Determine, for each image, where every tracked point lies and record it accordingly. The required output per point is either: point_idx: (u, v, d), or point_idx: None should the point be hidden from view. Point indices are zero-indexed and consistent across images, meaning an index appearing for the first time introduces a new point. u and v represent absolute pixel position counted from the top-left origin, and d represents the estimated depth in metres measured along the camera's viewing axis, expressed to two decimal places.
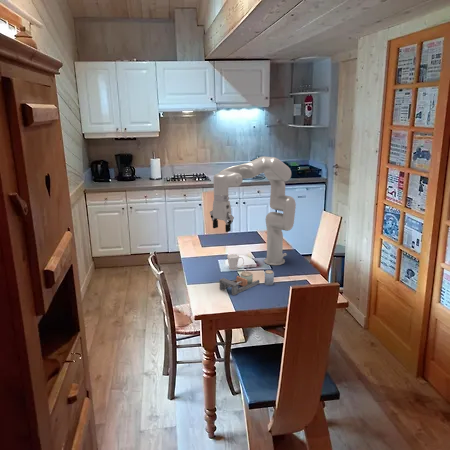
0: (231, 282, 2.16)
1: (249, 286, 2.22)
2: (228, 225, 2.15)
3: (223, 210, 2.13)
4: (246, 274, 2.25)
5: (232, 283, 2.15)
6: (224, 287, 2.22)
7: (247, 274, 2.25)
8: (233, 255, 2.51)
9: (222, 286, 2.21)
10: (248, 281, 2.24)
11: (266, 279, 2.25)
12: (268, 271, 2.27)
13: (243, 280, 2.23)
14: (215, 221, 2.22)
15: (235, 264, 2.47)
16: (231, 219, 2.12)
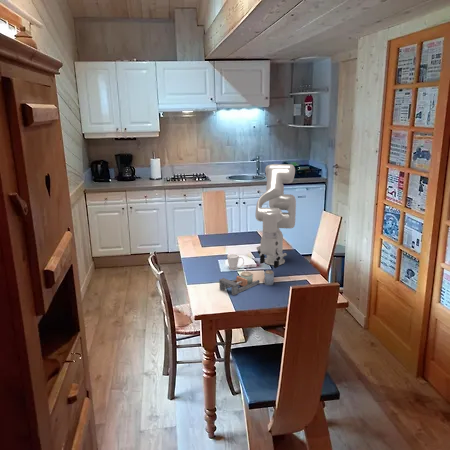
0: (231, 282, 2.16)
1: (249, 286, 2.22)
2: (277, 261, 2.19)
3: (272, 247, 2.18)
4: (246, 274, 2.25)
5: (232, 283, 2.15)
6: (224, 287, 2.22)
7: (247, 274, 2.25)
8: (233, 255, 2.51)
9: (222, 286, 2.21)
10: (248, 281, 2.24)
11: (266, 279, 2.25)
12: (268, 271, 2.27)
13: (243, 280, 2.23)
14: (262, 256, 2.26)
15: (235, 264, 2.47)
16: (280, 256, 2.17)
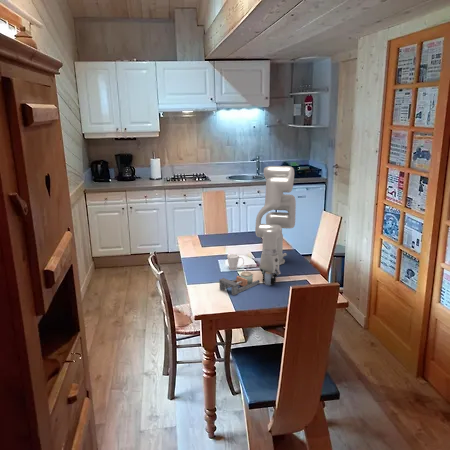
0: (231, 282, 2.16)
1: (249, 286, 2.22)
2: (273, 278, 2.24)
3: (271, 263, 2.20)
4: (246, 274, 2.25)
5: (232, 283, 2.15)
6: (224, 287, 2.22)
7: (247, 274, 2.25)
8: (233, 255, 2.51)
9: (222, 286, 2.21)
10: (248, 281, 2.24)
11: (266, 279, 2.25)
12: None
13: (243, 280, 2.23)
14: None
15: (235, 264, 2.47)
16: (277, 274, 2.21)
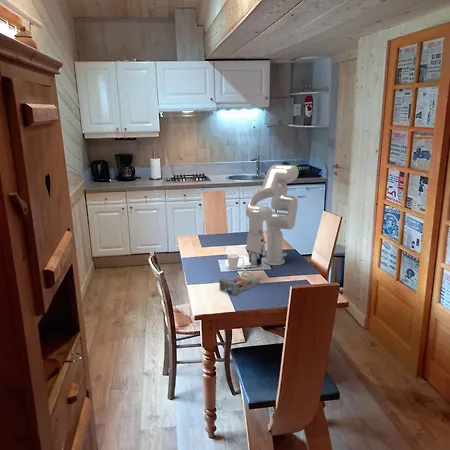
0: (231, 282, 2.16)
1: (249, 286, 2.22)
2: (259, 259, 2.26)
3: (257, 243, 2.23)
4: (246, 274, 2.25)
5: (232, 283, 2.15)
6: (224, 287, 2.22)
7: (247, 274, 2.25)
8: (233, 255, 2.51)
9: (222, 286, 2.21)
10: (248, 281, 2.24)
11: (252, 260, 2.27)
12: (254, 252, 2.28)
13: (243, 280, 2.23)
14: None
15: (235, 264, 2.47)
16: (263, 254, 2.23)
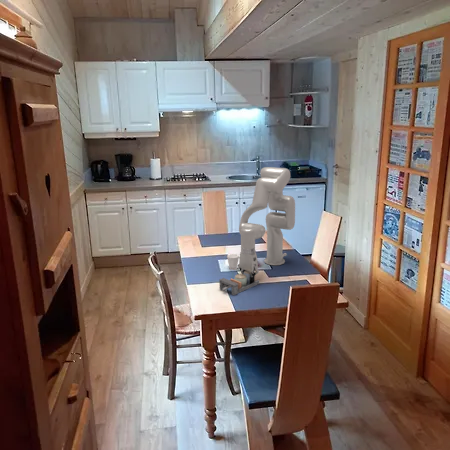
0: (231, 282, 2.16)
1: (249, 286, 2.22)
2: (252, 277, 2.25)
3: (250, 262, 2.21)
4: (240, 276, 2.22)
5: (232, 283, 2.15)
6: (224, 287, 2.22)
7: (241, 276, 2.22)
8: (233, 255, 2.51)
9: (222, 286, 2.21)
10: (242, 284, 2.21)
11: None
12: (247, 271, 2.27)
13: None
14: None
15: (235, 264, 2.47)
16: (256, 273, 2.22)
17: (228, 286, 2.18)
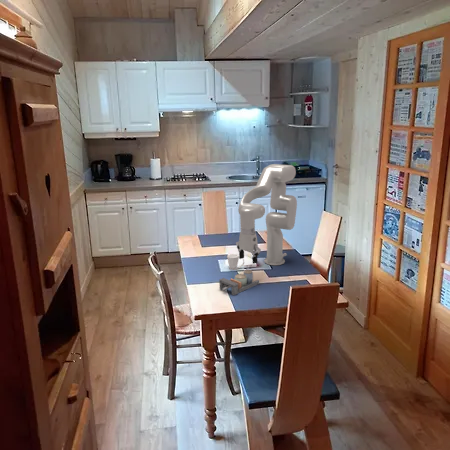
0: (231, 282, 2.16)
1: (249, 286, 2.22)
2: (255, 257, 2.20)
3: (250, 243, 2.18)
4: (240, 276, 2.22)
5: (232, 283, 2.15)
6: (224, 287, 2.22)
7: (241, 276, 2.22)
8: (233, 255, 2.51)
9: (222, 286, 2.21)
10: (242, 284, 2.21)
11: None
12: (247, 271, 2.27)
13: None
14: (241, 252, 2.28)
15: (235, 264, 2.47)
16: (258, 252, 2.18)
17: (228, 286, 2.18)
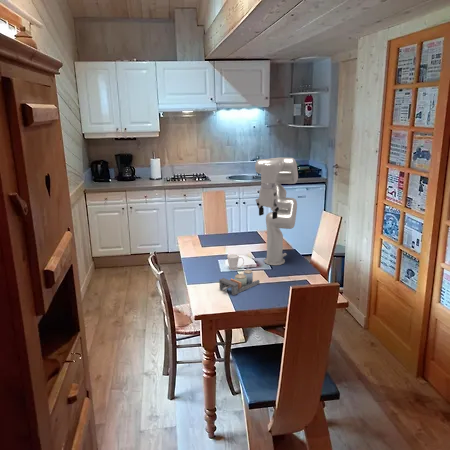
0: (231, 282, 2.16)
1: (249, 286, 2.22)
2: (275, 212, 2.22)
3: (270, 197, 2.20)
4: (240, 276, 2.22)
5: (232, 283, 2.15)
6: (224, 287, 2.22)
7: (241, 276, 2.22)
8: (233, 255, 2.51)
9: (222, 286, 2.21)
10: (242, 284, 2.21)
11: None
12: (247, 271, 2.27)
13: None
14: (261, 208, 2.29)
15: (235, 264, 2.47)
16: (278, 206, 2.19)
17: (228, 286, 2.18)
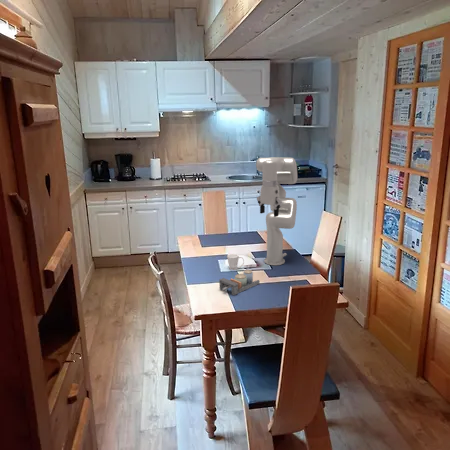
0: (231, 282, 2.16)
1: (249, 286, 2.22)
2: (276, 210, 2.22)
3: (271, 195, 2.20)
4: (240, 276, 2.22)
5: (232, 283, 2.15)
6: (224, 287, 2.22)
7: (241, 276, 2.22)
8: (233, 255, 2.51)
9: (222, 286, 2.21)
10: (242, 284, 2.21)
11: None
12: (247, 271, 2.27)
13: None
14: (262, 206, 2.29)
15: (235, 264, 2.47)
16: (280, 204, 2.19)
17: (228, 286, 2.18)
